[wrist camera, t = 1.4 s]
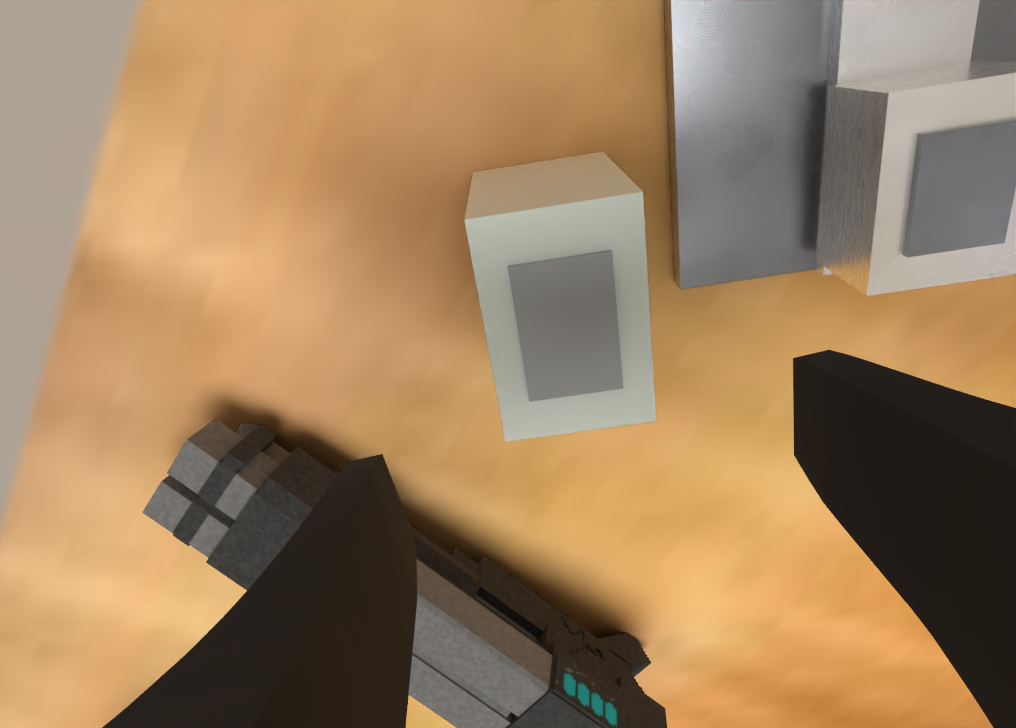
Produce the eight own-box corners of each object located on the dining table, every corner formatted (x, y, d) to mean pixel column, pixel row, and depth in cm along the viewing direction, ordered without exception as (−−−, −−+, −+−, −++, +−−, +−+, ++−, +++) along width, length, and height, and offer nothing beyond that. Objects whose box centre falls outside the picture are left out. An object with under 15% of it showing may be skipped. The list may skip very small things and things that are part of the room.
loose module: (602, 150, 19) (644, 193, 14) (617, 329, 22) (657, 423, 17) (473, 171, 20) (463, 221, 14) (503, 346, 22) (505, 445, 17)
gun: (611, 692, 30) (580, 914, 21) (298, 419, 31) (131, 516, 22) (677, 638, 29) (675, 853, 19) (345, 352, 29) (187, 424, 20)
